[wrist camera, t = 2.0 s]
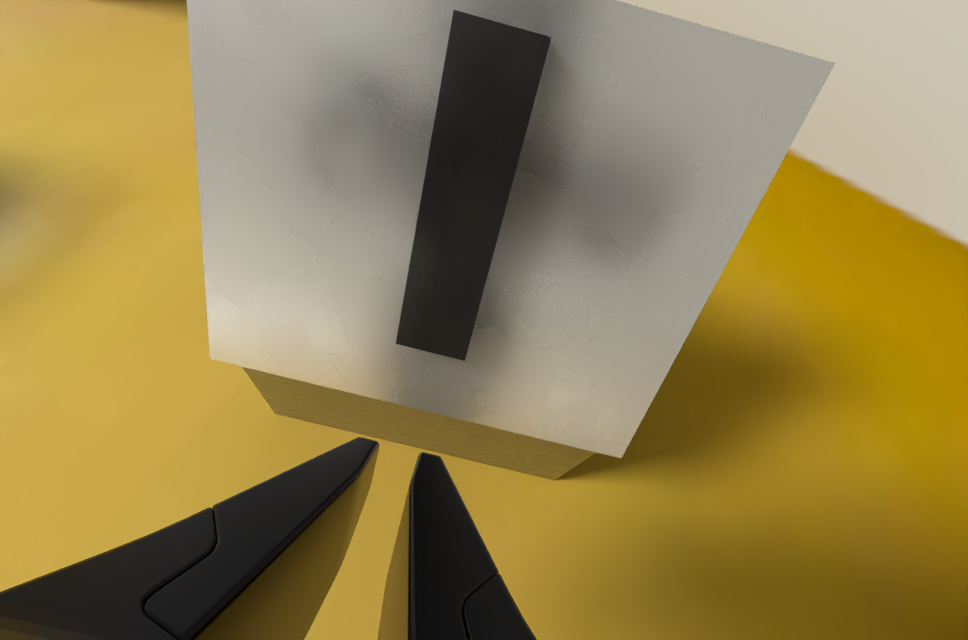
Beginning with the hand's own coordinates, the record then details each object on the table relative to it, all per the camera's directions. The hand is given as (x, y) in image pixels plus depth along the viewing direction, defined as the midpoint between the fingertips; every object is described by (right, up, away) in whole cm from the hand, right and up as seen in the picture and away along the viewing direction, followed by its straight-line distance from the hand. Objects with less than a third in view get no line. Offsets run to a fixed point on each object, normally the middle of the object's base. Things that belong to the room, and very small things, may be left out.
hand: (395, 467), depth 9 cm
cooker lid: (+1, +5, +4) cm, 7 cm away
